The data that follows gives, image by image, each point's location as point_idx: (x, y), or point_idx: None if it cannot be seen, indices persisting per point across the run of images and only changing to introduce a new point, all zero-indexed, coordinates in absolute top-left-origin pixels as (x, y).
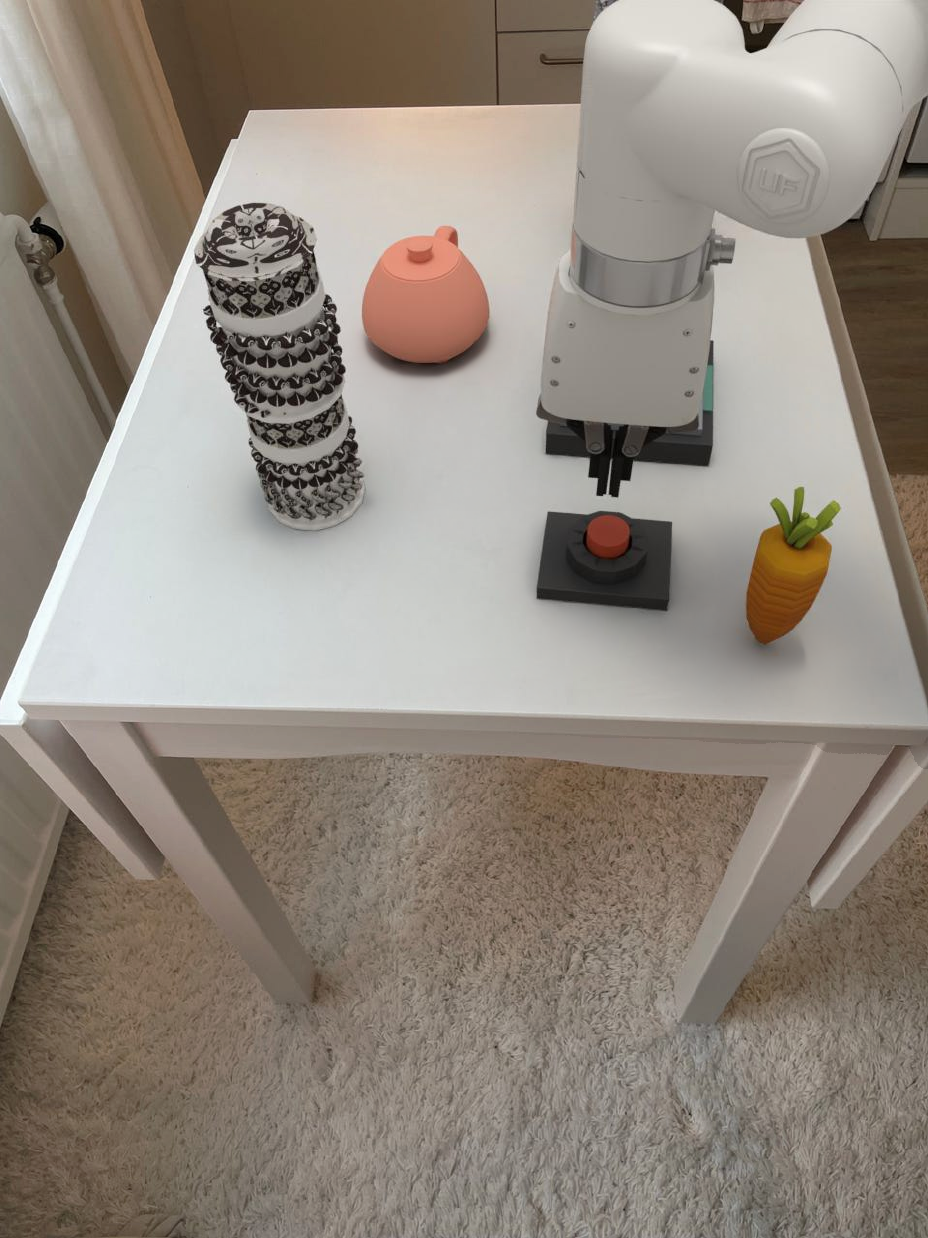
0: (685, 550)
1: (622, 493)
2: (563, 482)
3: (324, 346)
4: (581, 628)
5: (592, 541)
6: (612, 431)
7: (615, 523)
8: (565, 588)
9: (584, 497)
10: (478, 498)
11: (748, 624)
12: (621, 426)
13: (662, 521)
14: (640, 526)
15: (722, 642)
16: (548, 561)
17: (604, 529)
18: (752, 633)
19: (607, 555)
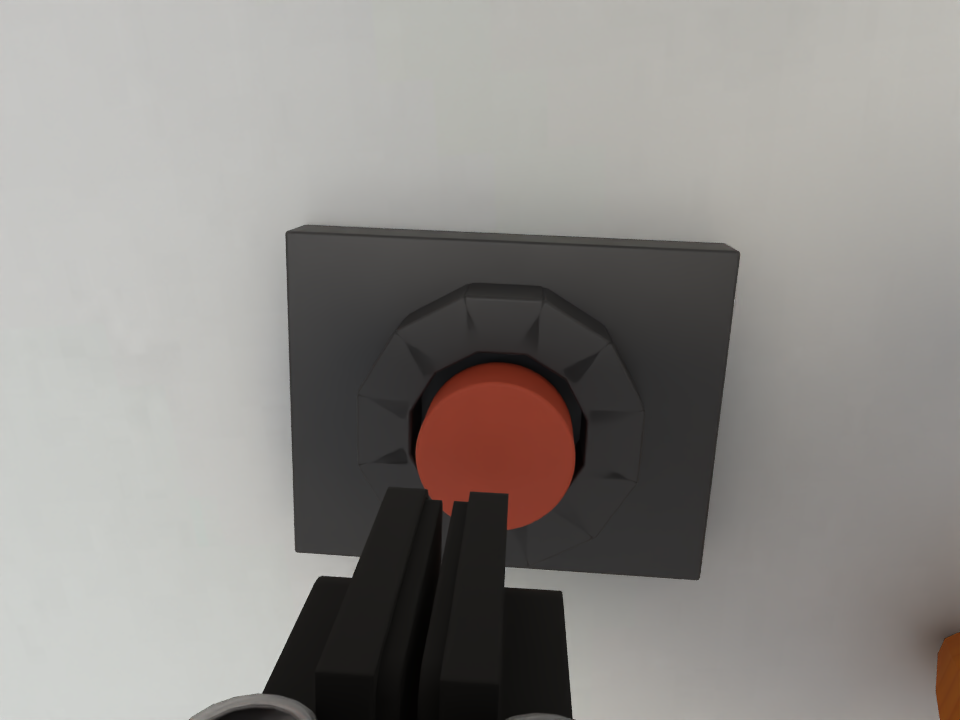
0: (771, 316)
1: (561, 53)
2: (337, 11)
3: None
4: None
5: None
6: (392, 712)
7: (519, 427)
8: None
9: (421, 87)
10: (50, 124)
11: (938, 706)
12: (458, 681)
13: (703, 254)
14: (618, 366)
15: (837, 643)
16: (316, 454)
17: (478, 458)
18: (937, 673)
19: None
